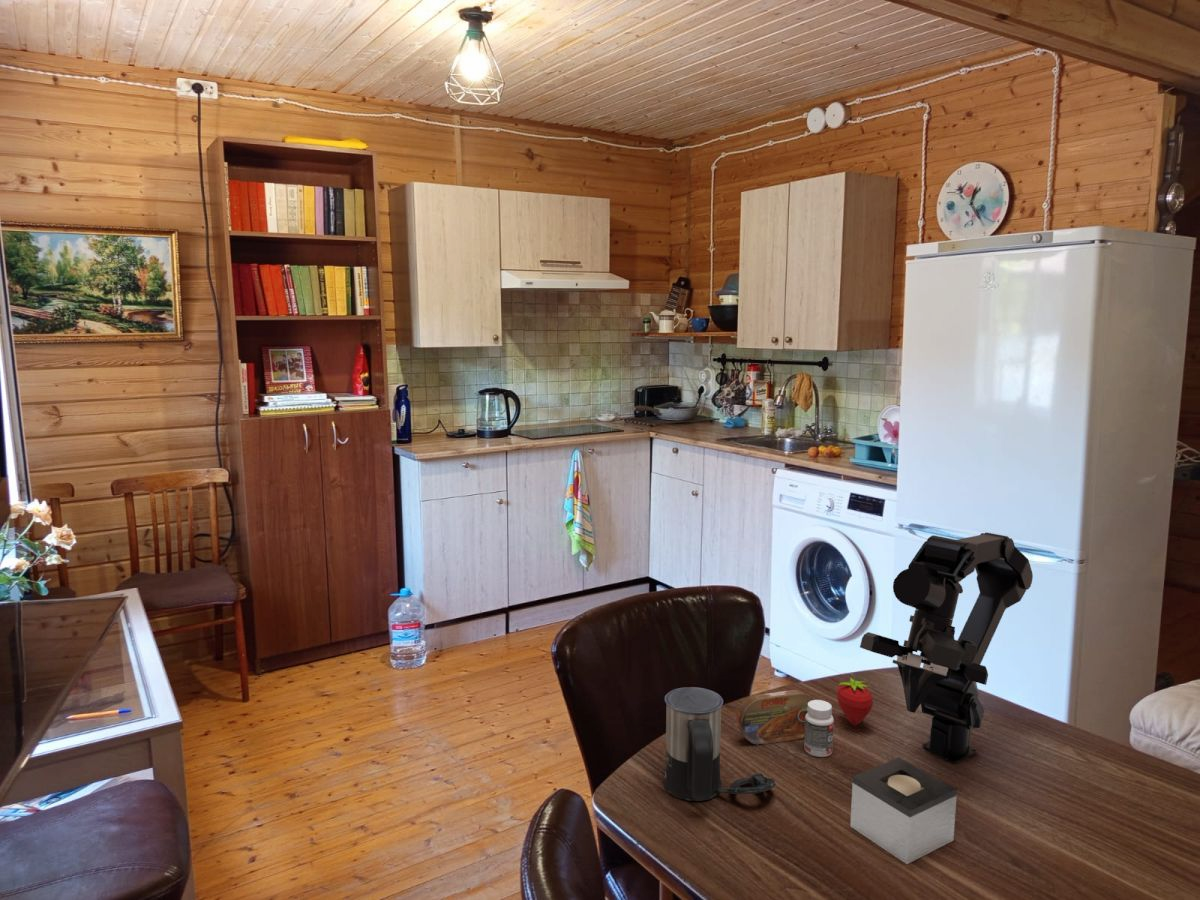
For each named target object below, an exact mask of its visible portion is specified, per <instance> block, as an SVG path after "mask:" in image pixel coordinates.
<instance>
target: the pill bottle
mask: <svg viewBox="0 0 1200 900" xmlns="http://www.w3.org/2000/svg"><path fill="white" fill-rule="evenodd" d="M807 711H808V713H807V714H806V716H805V738H804V751H805V752H806V753H807V754H808V755H810V756H813V757H816V758H817V757H818V758H824V757H829V756H830V755H832V753H833V747H834V725H835V724H834V723H835V722H834V721H835V720H834V717H833V715H832V714H833V706H832V704H831V703H830V702H828V701H825V700H822V699H814V700H812V701H810V702H808V708H807Z"/></svg>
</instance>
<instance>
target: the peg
mask: <svg viewBox="0 0 1200 900" xmlns="http://www.w3.org/2000/svg"><path fill="white" fill-rule="evenodd" d="M888 785H889V786H890V787H892V788H894V789H896V790H897V791H899V792H901V793H902V794H904V795H906V796H909V795H911V794H913V793H916V792H918V791H920V788H921V785H920V783H919V782H918V781H917V780H915V779H914V778H912V777H909V776H905V775H894V776H891V777H889V779H888Z"/></svg>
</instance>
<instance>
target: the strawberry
mask: <svg viewBox="0 0 1200 900" xmlns="http://www.w3.org/2000/svg"><path fill="white" fill-rule="evenodd" d="M850 675H851V677H850V678H849V681H848V682H845V681H841V682H839V683H838V685H839V686H838V688H837V691H836V698H837V702H838V705H839V708H840V709H841V711H842V712H843V715H844V716H845V717H846V719H847V720H848V721H849V723H850V724H851V725H852V726H854V727H855V726H858V725H859V724H860V723H861V722H862V721H863V720H865V719H866V717H867V716H868V714H869V713H870V712H871V711H872V707H873V705H874V700H873V695H872V693H871V691H869V689H868V688H869V687H870V686H869V685H866V684H864V683H867V681H866V680H865V681H863V680H862V681H860V680H859V681H858V680H856V678H855V676H854V675H853V674H852V673H850ZM852 677H853V678H852Z"/></svg>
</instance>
